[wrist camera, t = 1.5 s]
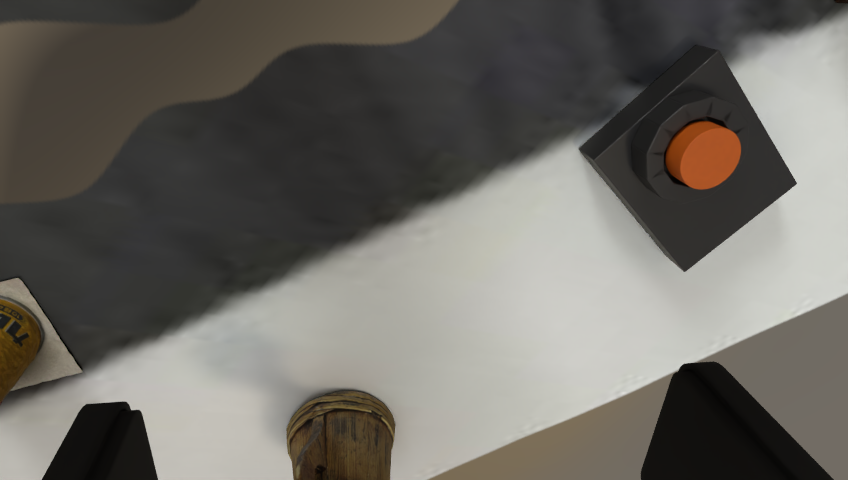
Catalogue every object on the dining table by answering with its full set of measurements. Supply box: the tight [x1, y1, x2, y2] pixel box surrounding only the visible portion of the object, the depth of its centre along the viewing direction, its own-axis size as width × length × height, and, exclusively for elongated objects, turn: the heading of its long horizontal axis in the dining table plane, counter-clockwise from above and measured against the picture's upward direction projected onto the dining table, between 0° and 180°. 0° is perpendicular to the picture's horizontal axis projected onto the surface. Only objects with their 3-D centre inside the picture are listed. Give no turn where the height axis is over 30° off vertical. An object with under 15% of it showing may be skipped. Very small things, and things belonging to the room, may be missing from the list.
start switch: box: [665, 121, 741, 189], centre depth 34 cm, size 4×4×2 cm
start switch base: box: [579, 45, 797, 272], centre depth 38 cm, size 13×10×4 cm
